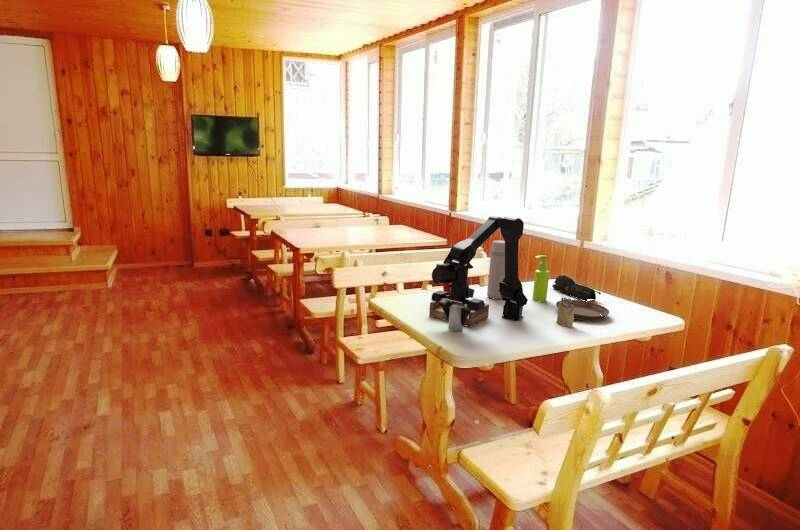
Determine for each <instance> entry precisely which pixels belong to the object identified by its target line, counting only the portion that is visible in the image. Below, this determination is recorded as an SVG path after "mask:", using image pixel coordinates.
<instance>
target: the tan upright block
mask: <svg viewBox="0 0 800 530" xmlns="http://www.w3.org/2000/svg"><path fill="white" fill-rule="evenodd" d="M563 300H564V302H563ZM572 300H573V299H572V298H567V297H561V299H560V301H561V302H559V307H558V308H557V316H556V317H557V318H556V323H557V324H559V325H561V326H564V327H567V328H572V327H573V324H574V311H575V309H574V308H575V306H574V305H572V304H570V303H573V301H572ZM566 301H567V302H568V303H567V302H566Z"/></svg>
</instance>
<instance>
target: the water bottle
mask: <svg viewBox="0 0 800 530" xmlns="http://www.w3.org/2000/svg"><path fill="white" fill-rule="evenodd" d="M504 278H505V240H501V239H500V240H498V239H497V240H492V243H491V248H490V257H489V269H488V279H487V281H488V283H487V292H486V295H487V298H489V297H490V298H489V299H491V298H494V299H493V300H502V297H501V295H500V292H499V282H502V281H503V279H504Z"/></svg>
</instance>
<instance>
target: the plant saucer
mask: <svg viewBox="0 0 800 530" xmlns="http://www.w3.org/2000/svg"><path fill="white" fill-rule="evenodd" d="M571 300H572V301H573V303H570V304H572V305H574V306H575V308H574V309H575V311H574V319H575V320H579V321H587V322H592V321H593V322H596V320H597V321H601V320H603V319H605V318H606V317H607V316H608V315H609V314H610V310H609V309H608V308H606V307H605V306H603V305H601V304H598V303H594V302H592V301H588V302H586V301H582V300H579V299H571ZM559 302H561V300H559V301H556V303H555V306H556V309H558V307H559ZM563 302H564V300H563ZM566 302H567V301H566ZM567 303H568V302H567ZM600 314H601V315H602V316H601V315H600ZM574 319H573V320H574Z"/></svg>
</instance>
